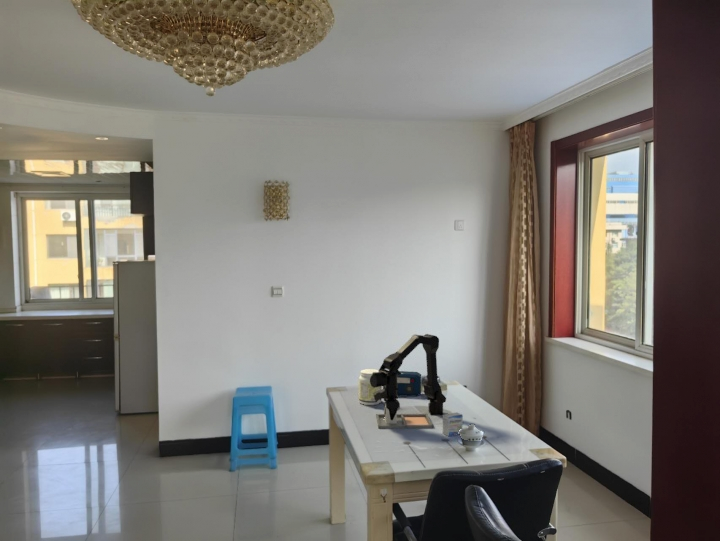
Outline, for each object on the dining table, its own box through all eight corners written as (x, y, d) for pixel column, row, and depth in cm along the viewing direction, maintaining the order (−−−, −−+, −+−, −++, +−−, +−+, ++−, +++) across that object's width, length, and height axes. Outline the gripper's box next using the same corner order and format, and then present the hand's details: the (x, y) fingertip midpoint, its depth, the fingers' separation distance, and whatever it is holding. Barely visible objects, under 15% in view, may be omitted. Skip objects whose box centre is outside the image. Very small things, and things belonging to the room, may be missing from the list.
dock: (427, 416, 257) (427, 413, 257) (433, 428, 240) (433, 425, 240) (375, 417, 256) (375, 414, 256) (378, 429, 239) (378, 425, 239)
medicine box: (448, 436, 230) (448, 417, 230) (442, 433, 234) (442, 414, 234) (462, 433, 234) (462, 414, 233) (456, 430, 238) (456, 411, 237)
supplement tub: (367, 398, 289) (367, 367, 288) (385, 401, 282) (386, 370, 281) (354, 403, 279) (354, 371, 279) (373, 407, 272) (373, 375, 271)
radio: (382, 395, 295) (383, 359, 294) (384, 391, 303) (384, 356, 303) (420, 397, 291) (420, 361, 290) (421, 393, 300) (421, 358, 299)
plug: (395, 420, 250) (395, 404, 250) (396, 423, 246) (396, 406, 246) (384, 420, 250) (384, 404, 250) (384, 423, 246) (384, 406, 246)
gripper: (372, 379, 256) (372, 411, 257) (375, 390, 238) (375, 424, 238) (395, 379, 257) (395, 411, 257) (399, 389, 238) (399, 423, 239)
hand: (390, 417), depth 248 cm, fingers open, 7 cm apart
